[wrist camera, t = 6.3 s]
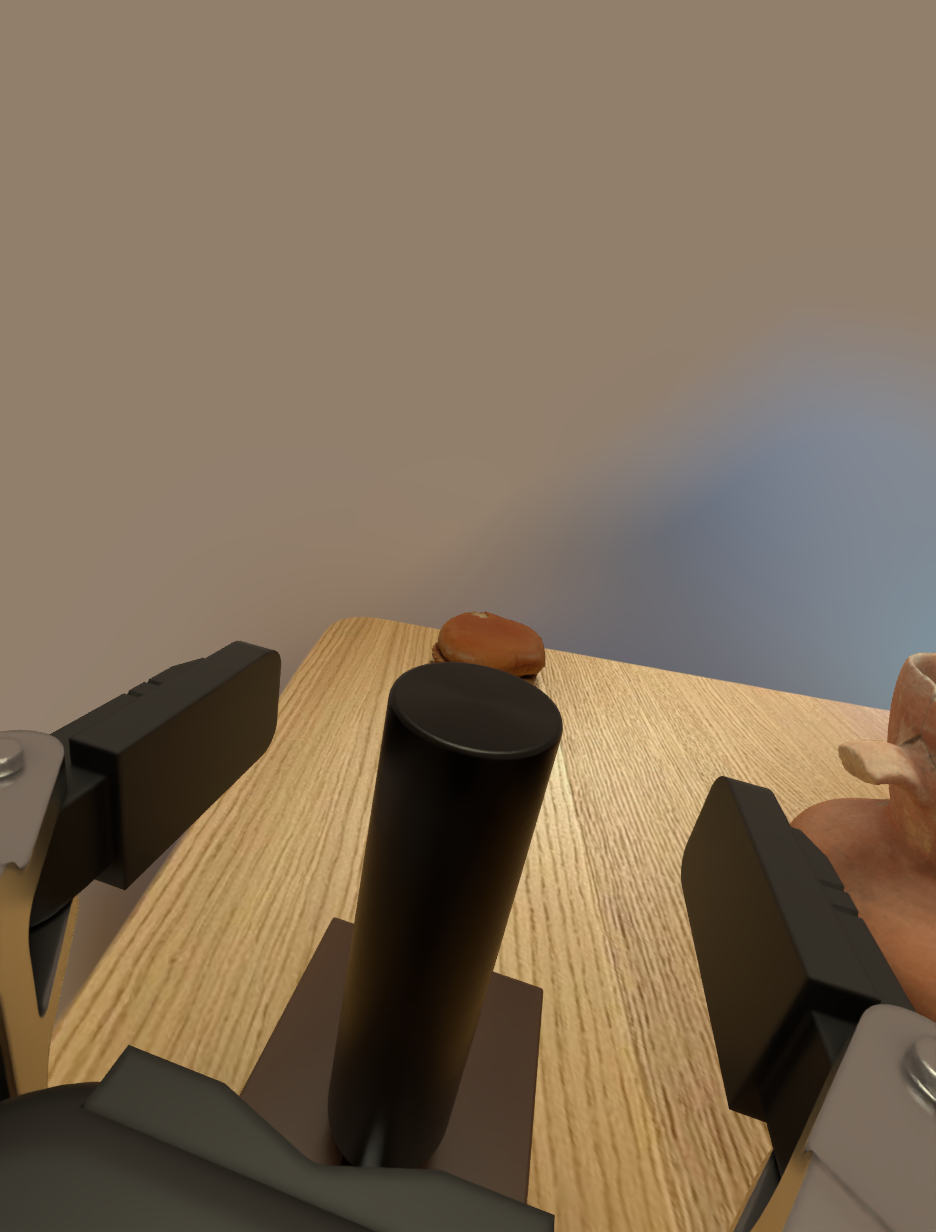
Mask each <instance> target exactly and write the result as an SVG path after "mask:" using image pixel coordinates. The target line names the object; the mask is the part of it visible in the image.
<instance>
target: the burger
mask: <svg viewBox="0 0 936 1232" xmlns="http://www.w3.org/2000/svg"><path fill="white" fill-rule="evenodd" d="M432 651H433V653H432V655H433V658H434V660H435V663H439V662H462V663H471V664H477V665H483V666H487V667H491V668H495V669H498V670H502V671H504V672H507V673H510V674H512V675H515V676H517V677H519V678H521V679H523V680H525V681H527V682H529V683H530V684H532V685H533V683H534V682H535V680H536V676H537V673H539V672H540V671H541V669H542V668H543V667H545V650H544V645H543V642H542V639H541V638H540V636H538V634H537V633H536V632H535V631H534V630H532V629H531V628H530V627H528V626H525V625H523V624H521V623H518V622H515V621H512V620H508V619H505V618H502V617H499V616H497V615H494V614H491V613H488V612H484V613H477V612H471V613H463V614H460V615H458V616H456V617H454V618H451V619H450V620H449V621H448V622H446V623H445V624H444V625H443V627H442V629H441V631H440V633H439V637H438V643H436V644H435V645H434V646H433V648H432Z"/></svg>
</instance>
